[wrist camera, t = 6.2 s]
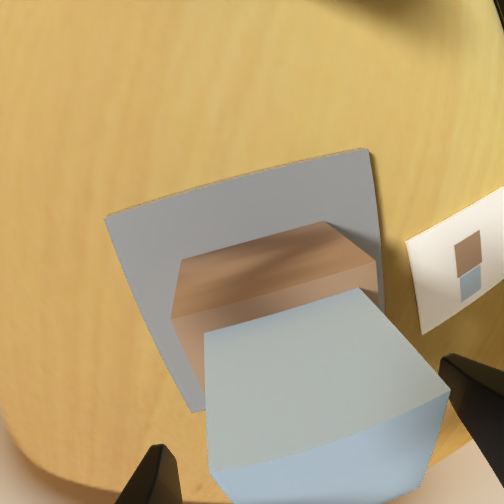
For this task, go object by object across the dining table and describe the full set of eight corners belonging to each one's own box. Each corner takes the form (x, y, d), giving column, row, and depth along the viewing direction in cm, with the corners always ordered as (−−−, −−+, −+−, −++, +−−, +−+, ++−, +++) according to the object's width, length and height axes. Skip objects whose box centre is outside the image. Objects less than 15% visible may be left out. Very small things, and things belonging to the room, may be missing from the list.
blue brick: (358, 287, 10) (450, 389, 5) (365, 392, 12) (419, 486, 7) (203, 332, 10) (209, 472, 5) (245, 429, 11) (264, 539, 7)
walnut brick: (323, 220, 14) (375, 260, 10) (340, 336, 17) (379, 398, 12) (181, 259, 14) (170, 319, 9) (222, 370, 16) (230, 443, 12)
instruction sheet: (503, 185, 16) (505, 185, 16) (508, 273, 18) (510, 274, 18) (405, 241, 16) (407, 242, 16) (421, 334, 19) (422, 335, 18)
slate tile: (360, 148, 14) (368, 148, 13) (379, 348, 18) (385, 355, 18) (108, 214, 14) (103, 218, 13) (191, 403, 18) (191, 412, 17)
